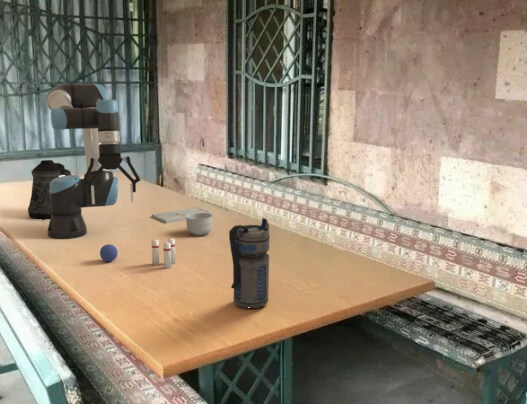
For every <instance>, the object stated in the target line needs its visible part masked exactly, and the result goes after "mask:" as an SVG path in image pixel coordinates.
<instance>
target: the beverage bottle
mask: <svg viewBox="0 0 527 404" xmlns="http://www.w3.org/2000/svg"><path fill="white" fill-rule="evenodd" d="M228 232H229V234H228V235H229V236H228V237H229V244H230V245H229V246H230V252H231V258H232V265H233V266H232V267H233V269H232V270H233V273H232V275H233V283H232V285H231V287H230V288H231V289H233V302H234V304H235V305H236V306H237V307H240V308H243V309H247V308H248V307H250V308H255V309H259V308H258V307H260V308H263V307H264V305H265V306H266V305H267V303H268V302H269V292H270V291H269V289H270V288H269V287H270V285H269V283H270V281H269V280H270V275H269V274H270V255H269V253H268V251H269V250H270V241H271V239H270V238H271V237H270V236H271V234H270V224H269V222H268V219H267V218H264V217H262V218H261V225H259V224H244V225H243V224H238V225H237V224H236V225H234V226H233V227H232V228H231V229H230V230H229V231H228ZM262 306H263V307H262Z"/></svg>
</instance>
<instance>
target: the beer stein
mask: <svg viewBox="0 0 527 404" xmlns="http://www.w3.org/2000/svg"><path fill="white" fill-rule="evenodd" d="M68 175H72V172H71V170H69V169H67V168H65V164H64V165H63V164H62V163H60V162H54V161H53V160H51V159H46V160H43V159H42V160H40V162H39V163H38V164H37V165H36V166H35V167H34V168H33V169H32V170H31V176H32V185H31V195H30V201H29V203H28V204H29V205H28V208H27V213H28V216H29V219H31V218H32V220H34V219H42V220H41V221H46V220H45V219H51V200H50V193H49V191H50V182H51V181H52V180H53V179H55V178H58V177H62V176H68Z"/></svg>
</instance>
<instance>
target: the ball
mask: <svg viewBox="0 0 527 404" xmlns="http://www.w3.org/2000/svg"><path fill="white" fill-rule="evenodd" d="M99 256H100V258H101V260H103V261H104V262H113V261H115V260H116V259H117V257H118V249H117V247H116V246H115V245H114V244H104V245H103V246H102V247H101V248H100V250H99Z"/></svg>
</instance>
